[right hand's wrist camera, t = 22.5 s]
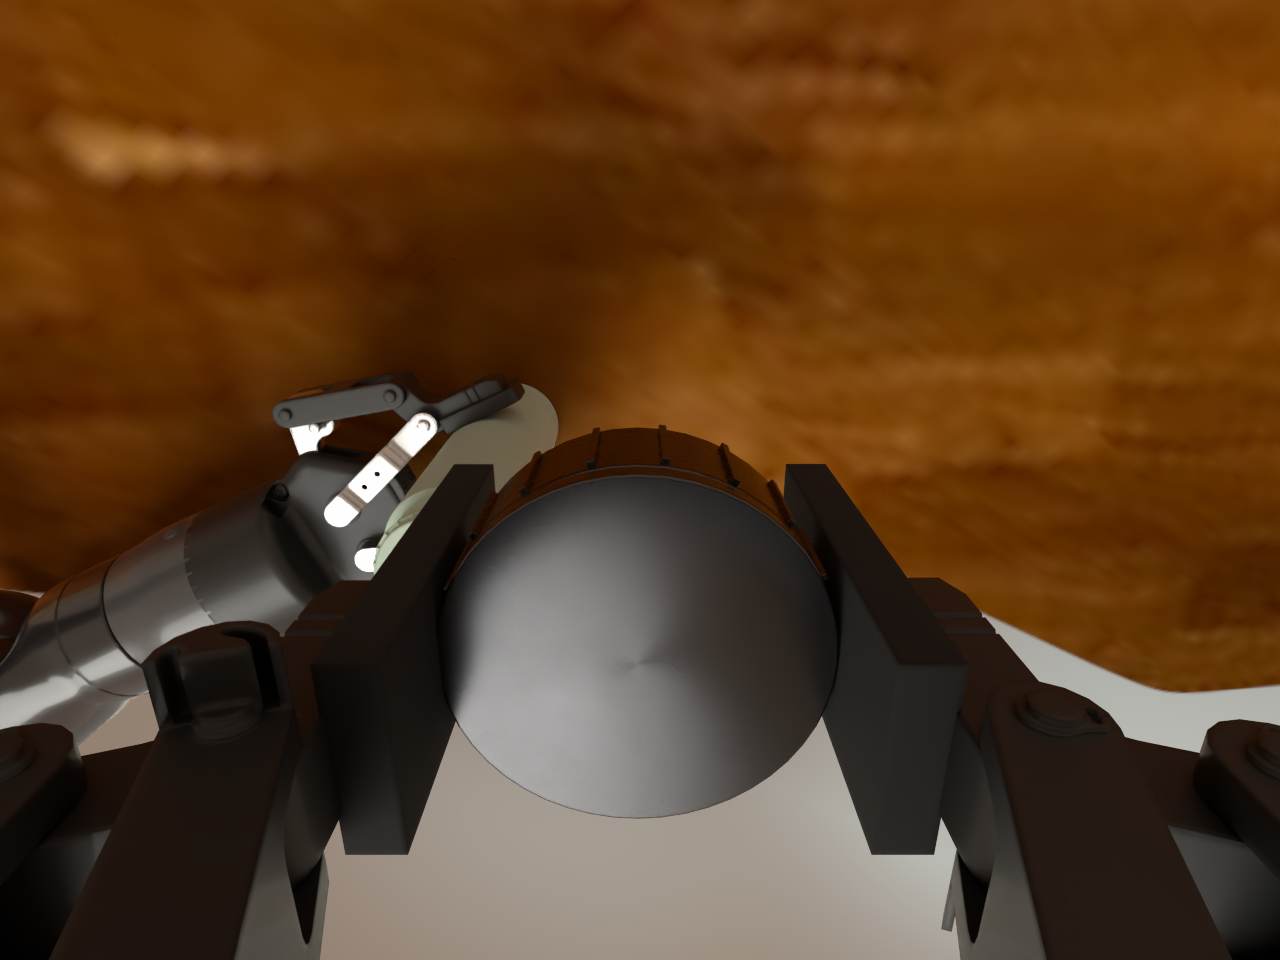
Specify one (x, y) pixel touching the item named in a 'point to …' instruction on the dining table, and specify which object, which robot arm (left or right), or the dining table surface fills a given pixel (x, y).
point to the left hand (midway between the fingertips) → (545, 441)
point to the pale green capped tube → (479, 457)
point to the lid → (637, 626)
